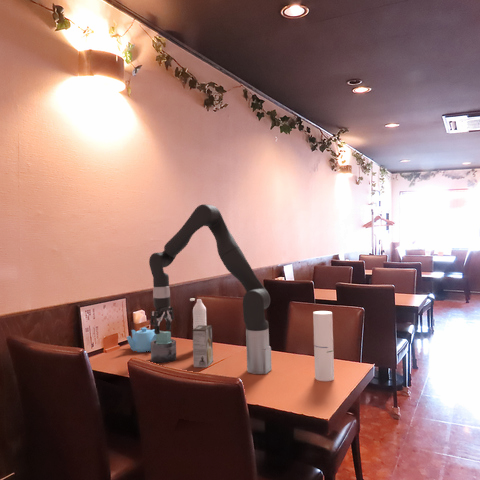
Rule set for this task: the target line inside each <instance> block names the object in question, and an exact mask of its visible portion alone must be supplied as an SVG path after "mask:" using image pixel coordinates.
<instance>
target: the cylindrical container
mask: <svg viewBox="0 0 480 480" xmlns="http://www.w3.org/2000/svg"><path fill="white" fill-rule="evenodd" d="M312 316H313V317H312V318H313V319H312V320H313V324H312V325H313V350H314V351H313V352H314V354H313V355H314V379H315V380H317V381H320V382H330V381H333V380H335V366H334V365H335V362H334V361H335V360H334V359H335V358H334V357H335V356H334V332H333V331H334V328H333V327H334V326H333V325H334V324H333V312H332V311H330V310H329V311H328V310H317V311H313V312H312Z"/></svg>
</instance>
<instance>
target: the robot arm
mask: <svg viewBox="0 0 480 480" xmlns="http://www.w3.org/2000/svg"><path fill="white" fill-rule="evenodd" d="M203 227H207V228H208V229H209V230H210V231H211V233H212V235H213V237H214V239H215V243H216V248H217V253H218V256H219V259H220V261H221V262H222V263H223V265H224V266H225V268H226V270H227V271H228V272H229V273H230V274H231V275H232V276H233V277H234V278H236V280H238V281H239V282H240V283H241V286H243V287H244V290H245V293H244V296H242V297H243V298H242V311H243V312H242V314H243V322H244V325H245V336H246V337H245V342H246V343H245V344H246V371H247V373H250V374H253V375H262V374H263V375H267V374H268V373H269V372H270V371H271V370H272V347H271V346H270V334H269V333H270V332H269V330H270V329H269V328H270V327H269V321H268V320H266V318H265V317H266V316H265V310H266V309H268V308H269V307H270V304H271V297H270V294H269V292H268V290H267V289H266V287H265V286H264V285H263V283H262V282H261V281H260V279H259V278H258V276H257V275H256V274H255V272H254V270H253V269H252V266H251V265H250V264H249V262H248V260H247V259H246V256H245V254H244V253H243V251H242V250H241V248H240V246H239V245H238V242H237V241H236V240H235V237H234V236H233V235H232V234H231V232H230V230H229V228H228V227H227V224H226V222H225V220H224V218H223V215H222V213H221V211H220V209H218V207H216V205H212V204H207V203H206V204H205V203H204V204H199V205H198V206H197V207H196V208H194V210H193V212H192V213H191V215H190V216H189V217H188V219H187V220H186V221H185V222H184V224H183V225H182V227H181V228H179V230H178V231H177V232H176V233H175V234H174V235H173V236H172V237H171V238H170V239H169V240H168V241H167V242H166V243H165V245H164V247H163V249H164V250H163V251H162V252H154V253H152V254H151V255H150V256H149V260H148V264H149V269H150V272H151V275H152V277H153V278H152V279H153V281H152V284H153V285H152V286H153V287H152V288H153V289H152V290H153V291H152V295H153V298H152V299H153V307H154V308H155V310H152V311H151V312H150V325H151V326H154V327H153V329H155V334H160V331H161V330H160V328H161V327H160V323H161V322H162V321H163V319H164V320H165V329H166V331H170V330H172V321H173V320H175V316H174V315H175V313H174V307H173V306H171V290H170V289H171V288H170V276H169V274H168V273H166V272H165V270H164V268H167V267H169V266H170V265H172V263H173V261H174V260H175V259H176V257H177V255H178V254H179V253H181V252H182V250H184V249H185V248H186V247H187V245H188V244H189V242H190V240H191V238H192V237H193V236H194V234H195V233H196V232H197V231H199V230H200V229H201V228H203Z"/></svg>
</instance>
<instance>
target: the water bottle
mask: <svg viewBox="0 0 480 480" xmlns="http://www.w3.org/2000/svg"><path fill="white" fill-rule="evenodd" d="M195 300H196V303H195V304H194V306H193V309H192V319H193V320H192V321H193V322H192V326H193V327H192V328H193V329H194V328H196V327H197V326H198V325H208V324H207V307H206V306H205V305H204V303H203V300H202V299H201V298H197V299H196V298H194V297H192V298H189V301H190V302H193V301H194V302H195ZM193 329H192V330H193Z"/></svg>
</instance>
